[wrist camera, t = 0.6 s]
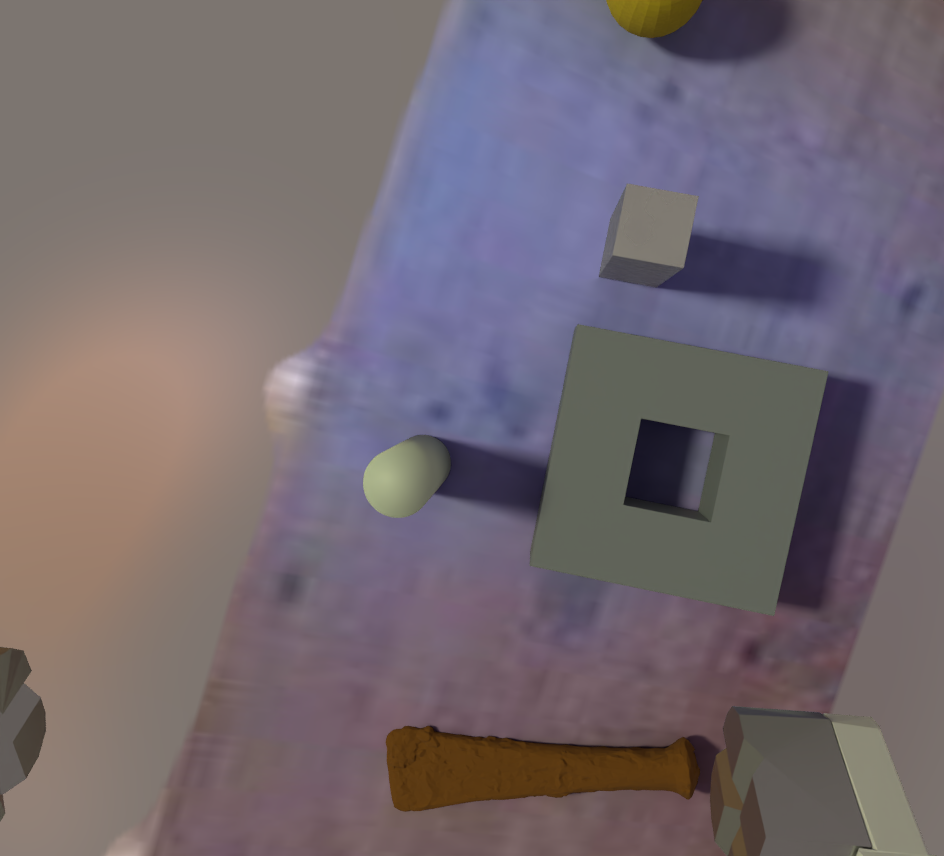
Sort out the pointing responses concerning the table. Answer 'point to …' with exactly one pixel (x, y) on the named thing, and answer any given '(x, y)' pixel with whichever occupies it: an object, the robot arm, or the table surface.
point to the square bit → (648, 236)
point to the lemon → (652, 15)
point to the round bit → (406, 475)
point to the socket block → (727, 478)
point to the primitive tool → (524, 768)
